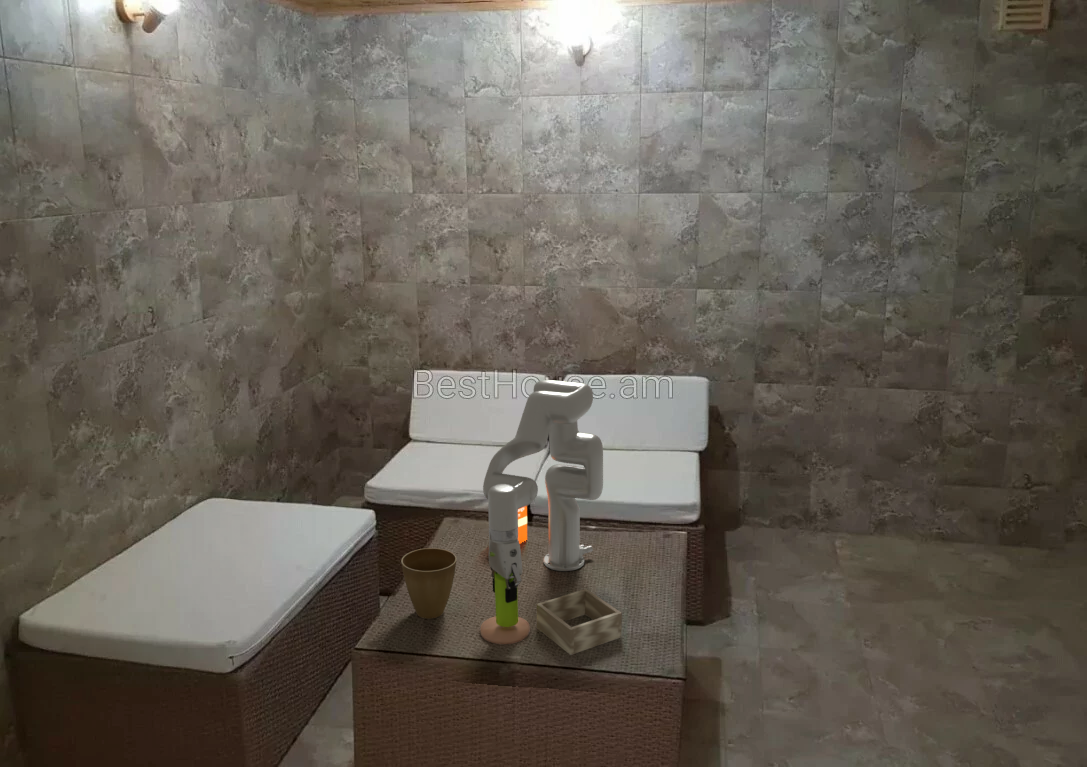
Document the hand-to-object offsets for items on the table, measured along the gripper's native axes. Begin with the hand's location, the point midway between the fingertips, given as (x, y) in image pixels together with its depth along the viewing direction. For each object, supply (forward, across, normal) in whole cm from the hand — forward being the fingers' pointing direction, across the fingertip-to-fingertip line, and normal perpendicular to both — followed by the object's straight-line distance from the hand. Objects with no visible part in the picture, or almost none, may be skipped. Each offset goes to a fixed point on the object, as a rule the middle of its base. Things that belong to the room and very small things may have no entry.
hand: (504, 595), depth 236 cm
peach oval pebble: (+10, 0, 0) cm, 10 cm away
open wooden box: (+10, -11, -16) cm, 22 cm away
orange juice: (+11, +49, -30) cm, 58 cm away
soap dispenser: (+8, 0, 0) cm, 8 cm away
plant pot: (+11, +20, +12) cm, 26 cm away
